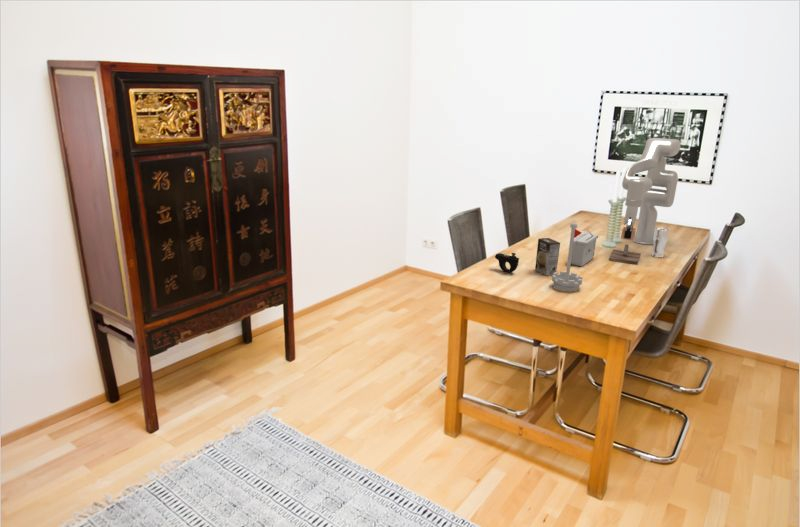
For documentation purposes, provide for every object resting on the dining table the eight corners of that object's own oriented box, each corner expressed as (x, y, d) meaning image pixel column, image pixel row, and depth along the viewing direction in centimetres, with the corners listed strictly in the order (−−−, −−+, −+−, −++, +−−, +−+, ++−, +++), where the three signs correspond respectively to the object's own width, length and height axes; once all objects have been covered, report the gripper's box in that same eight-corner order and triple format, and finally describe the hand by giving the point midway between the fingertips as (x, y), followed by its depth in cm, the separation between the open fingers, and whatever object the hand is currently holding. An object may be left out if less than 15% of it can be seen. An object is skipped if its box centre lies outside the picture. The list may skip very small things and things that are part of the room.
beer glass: (665, 258, 294) (670, 231, 290) (651, 257, 296) (656, 230, 291) (662, 254, 301) (667, 227, 296) (649, 253, 302) (653, 227, 298)
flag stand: (563, 294, 240) (572, 227, 231) (545, 284, 251) (552, 220, 242) (587, 290, 245) (596, 224, 236) (568, 281, 256) (575, 217, 247)
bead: (622, 236, 293) (623, 226, 292) (634, 237, 291) (636, 228, 289) (620, 238, 288) (622, 229, 287) (633, 240, 285) (634, 230, 284)
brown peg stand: (613, 251, 304) (615, 238, 301) (640, 256, 298) (642, 242, 295) (608, 260, 288) (610, 246, 286) (637, 264, 282) (639, 250, 280)
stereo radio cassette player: (580, 255, 296) (585, 218, 290) (595, 258, 292) (600, 221, 286) (566, 264, 280) (571, 226, 274) (583, 268, 276) (588, 229, 269)
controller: (514, 275, 262) (516, 255, 258) (492, 269, 270) (494, 249, 267) (519, 273, 264) (521, 253, 261) (497, 267, 273) (499, 248, 270)
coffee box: (534, 270, 270) (537, 238, 265) (545, 268, 273) (548, 237, 268) (545, 276, 262) (549, 243, 257) (556, 274, 265) (560, 242, 260)
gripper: (627, 199, 293) (622, 232, 298) (623, 204, 278) (618, 239, 283) (642, 201, 289) (637, 234, 295) (639, 206, 275) (633, 241, 280)
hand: (628, 236), depth 289 cm, fingers closed on bead, 6 cm apart
